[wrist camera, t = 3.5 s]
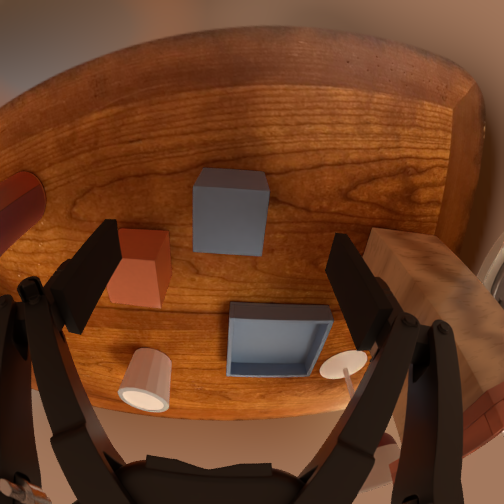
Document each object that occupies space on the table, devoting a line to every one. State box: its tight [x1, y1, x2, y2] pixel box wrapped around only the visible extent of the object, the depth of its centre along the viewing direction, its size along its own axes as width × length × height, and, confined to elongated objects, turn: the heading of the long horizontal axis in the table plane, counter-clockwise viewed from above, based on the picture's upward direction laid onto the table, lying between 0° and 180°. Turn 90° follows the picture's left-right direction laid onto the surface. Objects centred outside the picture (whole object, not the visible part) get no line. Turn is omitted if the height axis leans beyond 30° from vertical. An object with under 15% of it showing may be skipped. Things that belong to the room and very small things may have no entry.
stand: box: [362, 227, 504, 486], centre depth 18 cm, size 11×11×22 cm
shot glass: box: [118, 348, 171, 412], centre depth 31 cm, size 7×7×7 cm
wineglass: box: [320, 350, 401, 494], centre depth 28 cm, size 8×9×20 cm
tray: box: [226, 302, 334, 377], centre depth 31 cm, size 11×11×2 cm
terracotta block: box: [106, 228, 172, 308], centre depth 23 cm, size 5×5×5 cm
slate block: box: [193, 168, 270, 256], centre depth 21 cm, size 5×5×5 cm
